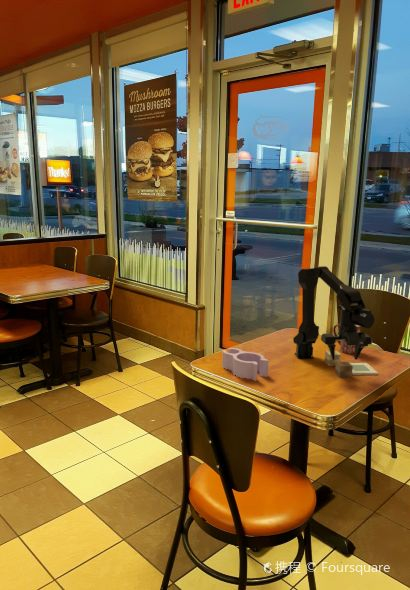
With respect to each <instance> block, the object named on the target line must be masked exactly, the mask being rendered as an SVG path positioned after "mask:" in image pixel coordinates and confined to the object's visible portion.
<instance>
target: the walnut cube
mask: <svg viewBox="0 0 410 590" xmlns="http://www.w3.org/2000/svg"><path fill="white" fill-rule="evenodd" d="M350 363H351V362H349V361H340V362H336V366H334V368H335V369H334V374H335V375H336V376H337V377H338V378H339V379H348V378H349V379H350V378H351V379H352V378H353V375H352V369H353V366H352V365H351V364H350Z"/></svg>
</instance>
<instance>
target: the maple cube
mask: <svg viewBox="0 0 410 590" xmlns="http://www.w3.org/2000/svg"><path fill="white" fill-rule="evenodd" d="M324 353H325V354H324V363H325V364H326V365H327V366H329V367H336V362H341V360H342V359H341V357H342V354H341V353H340V352H338V350H335V357H334V360H333V359H332V356H331V353H330V350H325V352H324Z"/></svg>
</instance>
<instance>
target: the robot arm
mask: <svg viewBox="0 0 410 590" xmlns="http://www.w3.org/2000/svg"><path fill="white" fill-rule="evenodd" d="M297 277H298V284H299V286H300V287H301V289H302V290H301V291H302V294H301V295H302V297H301V299H302V300H301V301H302V311H301V312H302V313H301V314H302V318H301V319H302V320H301V321H302V322H301V323H300V325H299V327H298V332H297V334H296V335H294V337H293V339H292V341H293V344H295V346H296V350H295V352H294V355H295V356H296V358H297V359H308V360H309V359H313V355H314V354H313V352H314V347H313V344H316V341H317V340H318V338H319V336H320V341H322V343H324V345H326V346H327V347H328V351H330V353H331V356H332V359H333V360H334V357H335V351H336V349H335V348H336V346H337V345H336V343H337V342H338V341H346V344H347V345H349V346H351V345H355V354H354V360H355V361H357V360H358V358H359V356H360V354H361V352H362V351H363V349H364V348H366V347H368V346H369V345H372V344H373V339H372V337H371V336H370V335H368V333H366V332H361V331H360V333H359V332H357V326H355V325H358V326H361V327H362V328H365V329H370V328H372V327H373V326H374V324H375V319H376V318H375V315H373V314H372V310H371V309H367V308H366V305H365V302H364V300H363V298H362V294H361V292H360V290H358V289H356V288H355V287H354V286H353V287H352V286H350V285H347V284H345V283H344V282H343V281H342V280H341V279H340V278H339V277H337V276H336V275H335V274H334V273H333V271H331V270H330V268H329V267H327V266H326V265H325V266H323V265H322V266H316V267H311V268H301V269H300V270H299V271H298V273H297ZM319 279H321V280H322V281H323V282H324V283H325V285H327V286H328V287H329V288H330V289H331V290H332V291H333V292H334V293H335V294H336V298H337V300H338V301H339V302H340V304H339V305H338V306H337V309H339V310H340V311H341V312H340V321H339V322H338V324H339V325H340V327H339V331H338V332H337V336H334V334H333V333H322V335H320V326H319V325H317V324H316V322H315V289H316V287H317V284H318V282H319Z"/></svg>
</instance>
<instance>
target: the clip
mask: <svg viewBox="0 0 410 590" xmlns="http://www.w3.org/2000/svg"><path fill="white" fill-rule="evenodd" d="M228 350H229V351H228V352H227V349H222V356H221V357H222V360H221V361H222V363H221V364H222V365H221V366H222V369H224V368H225V369H224V370H227V369H229V370H228V371H230V370H231V371H230V372H232V374H233V376H235V375H236V376H235V377H237V378H239V377H240V379H243V378H247V379H246V380H254V382H256V381H257V380H258V372H259V376H260V377H264V378H267V377H268V376H269V363H270V362H269V361H270V360H269V359H267V358H265V356H264V355H262V354H260V353H258V352H252V351H244V350H242V349H240V348H236V347H229V348H228Z"/></svg>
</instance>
